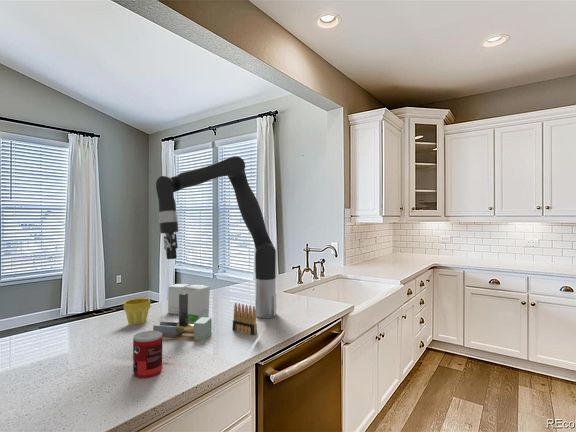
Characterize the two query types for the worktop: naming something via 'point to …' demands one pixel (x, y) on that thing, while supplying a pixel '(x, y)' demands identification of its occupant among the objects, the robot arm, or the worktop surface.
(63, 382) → the worktop surface
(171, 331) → the grey bolt guide channel
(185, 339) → the oak board
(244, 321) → the ammunition clip
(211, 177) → the robot arm
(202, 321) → the socket block
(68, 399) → the worktop surface
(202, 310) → the skincare box
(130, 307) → the plant pot
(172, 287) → the supplement box
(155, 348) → the canned food
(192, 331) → the slide bolt
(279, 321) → the worktop surface
